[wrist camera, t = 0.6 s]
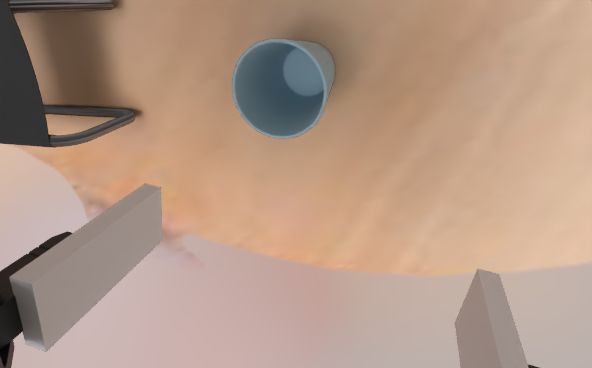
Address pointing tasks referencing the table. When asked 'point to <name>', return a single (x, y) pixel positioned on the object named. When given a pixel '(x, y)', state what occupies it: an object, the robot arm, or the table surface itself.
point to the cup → (283, 86)
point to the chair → (24, 88)
